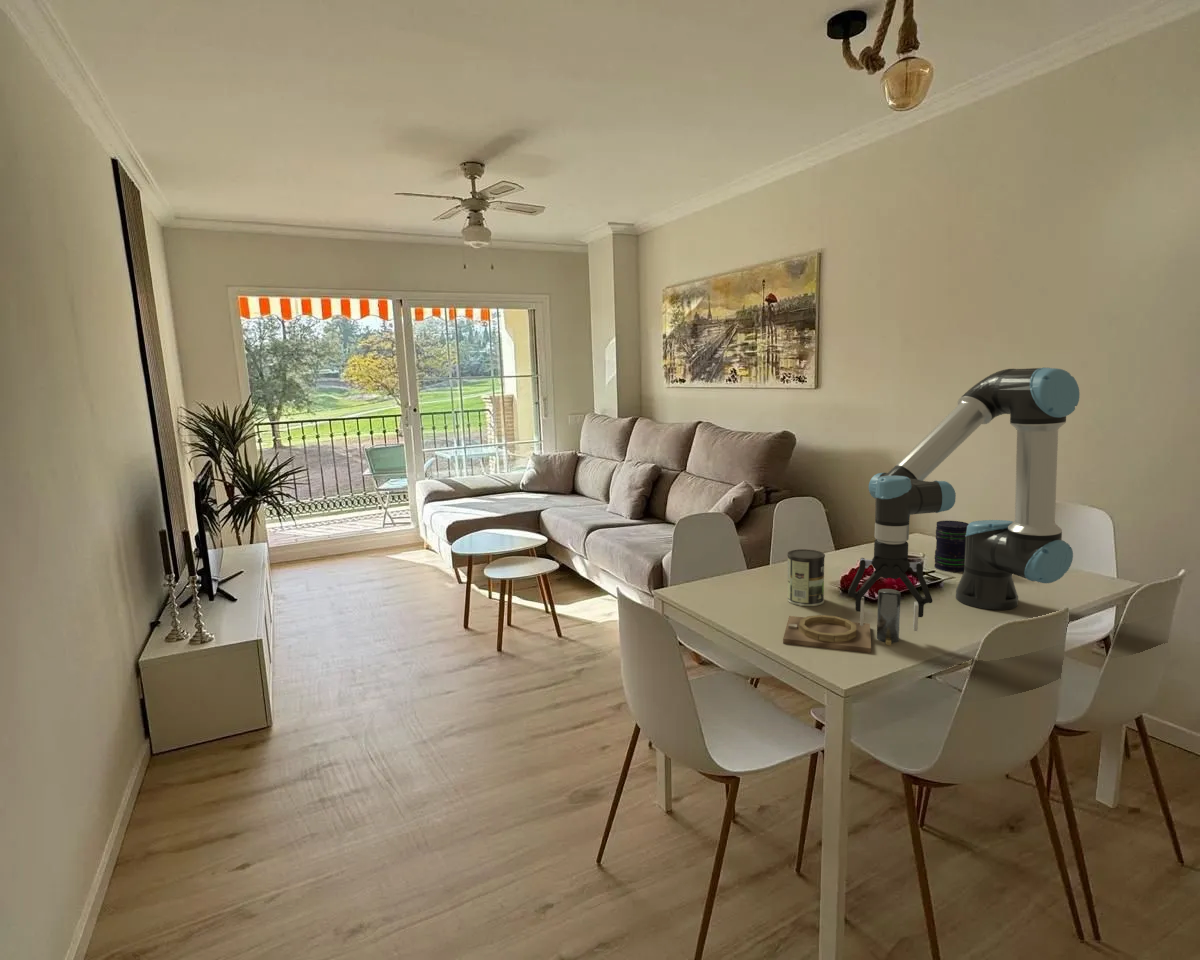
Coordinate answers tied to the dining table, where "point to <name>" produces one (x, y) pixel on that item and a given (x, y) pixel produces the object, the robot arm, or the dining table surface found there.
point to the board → (828, 633)
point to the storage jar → (950, 546)
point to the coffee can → (806, 577)
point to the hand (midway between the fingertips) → (888, 626)
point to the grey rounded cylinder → (888, 615)
